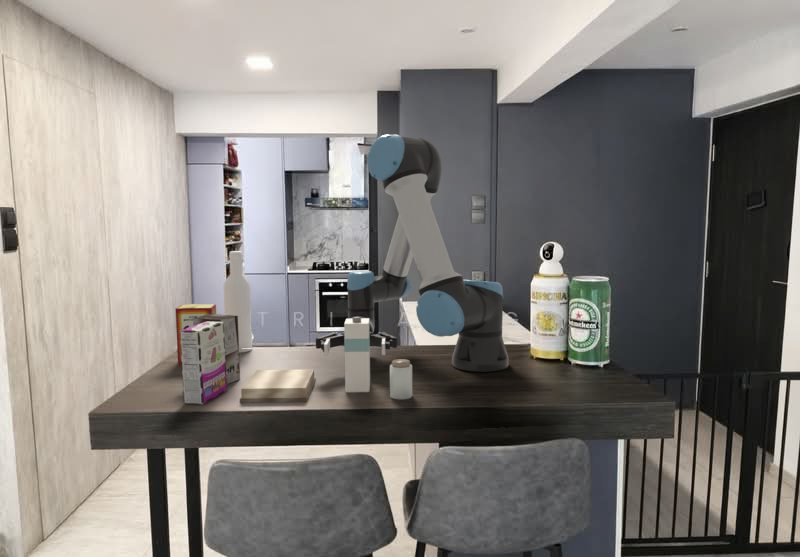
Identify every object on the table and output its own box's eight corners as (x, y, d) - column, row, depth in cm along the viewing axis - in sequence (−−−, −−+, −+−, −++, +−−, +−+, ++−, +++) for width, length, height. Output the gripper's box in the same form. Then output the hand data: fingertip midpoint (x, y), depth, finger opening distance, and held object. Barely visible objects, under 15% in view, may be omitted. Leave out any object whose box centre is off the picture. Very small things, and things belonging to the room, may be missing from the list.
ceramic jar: (411, 392, 139) (411, 358, 138) (412, 399, 134) (412, 363, 133) (389, 393, 139) (389, 358, 138) (390, 399, 134) (389, 364, 133)
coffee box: (241, 379, 151) (239, 315, 150) (223, 385, 146) (221, 319, 144) (213, 375, 155) (210, 313, 154) (194, 381, 149) (192, 317, 148)
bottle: (248, 353, 180) (245, 252, 177) (222, 353, 180) (218, 252, 177) (255, 347, 188) (252, 250, 185) (230, 347, 188) (226, 250, 185)
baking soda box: (217, 358, 174) (215, 303, 172) (213, 363, 167) (211, 306, 166) (183, 359, 173) (181, 303, 171) (178, 364, 166) (175, 307, 165)
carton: (370, 383, 147) (369, 314, 145) (369, 392, 140) (368, 319, 138) (347, 383, 147) (346, 314, 145) (345, 392, 140) (343, 319, 138)
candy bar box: (208, 389, 142) (205, 320, 141) (227, 390, 141) (225, 321, 140) (181, 404, 132) (178, 329, 130) (202, 405, 131) (199, 330, 129)
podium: (315, 381, 149) (315, 369, 149) (306, 401, 133) (306, 388, 132) (256, 381, 149) (255, 369, 149) (239, 402, 132) (239, 389, 132)
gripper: (405, 345, 165) (407, 364, 144) (313, 346, 164) (301, 365, 143) (405, 318, 164) (407, 333, 143) (312, 319, 164) (301, 334, 142)
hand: (354, 349), depth 143 cm, fingers open, 13 cm apart
